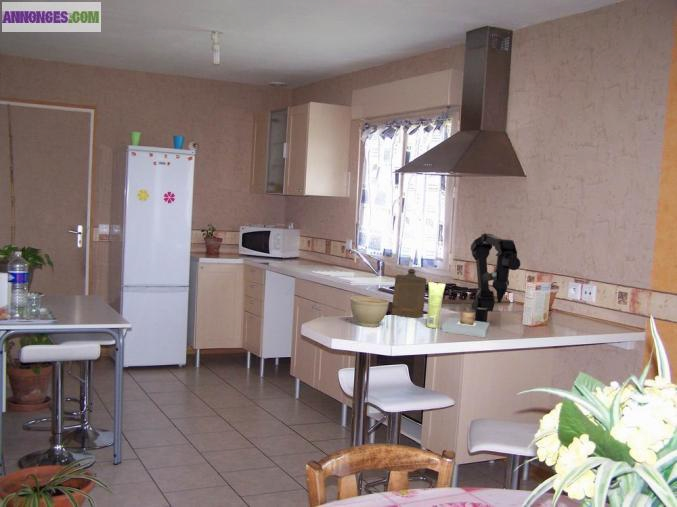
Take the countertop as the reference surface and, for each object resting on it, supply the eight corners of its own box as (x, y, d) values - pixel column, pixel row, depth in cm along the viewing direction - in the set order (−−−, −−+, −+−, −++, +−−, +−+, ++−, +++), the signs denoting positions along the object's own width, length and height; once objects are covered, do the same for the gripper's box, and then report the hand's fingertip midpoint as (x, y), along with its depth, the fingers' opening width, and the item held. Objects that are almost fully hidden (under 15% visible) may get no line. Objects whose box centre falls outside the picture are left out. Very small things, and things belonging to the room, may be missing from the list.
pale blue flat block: (448, 323, 320) (449, 317, 320) (489, 329, 316) (489, 322, 315) (441, 331, 299) (442, 324, 299) (484, 337, 294) (485, 330, 294)
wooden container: (415, 312, 345) (420, 268, 343) (427, 318, 331) (432, 271, 329) (387, 311, 341) (391, 266, 339) (397, 317, 327) (402, 269, 325)
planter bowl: (343, 320, 304) (346, 295, 303) (379, 322, 308) (382, 297, 307) (354, 328, 288) (356, 301, 287) (391, 329, 292) (394, 303, 291)
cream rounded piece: (460, 328, 311) (462, 310, 310) (473, 330, 309) (475, 312, 309) (458, 330, 305) (460, 312, 305) (472, 332, 304) (474, 314, 303)
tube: (431, 325, 311) (436, 281, 310) (441, 327, 308) (445, 283, 306) (423, 326, 307) (428, 282, 306) (433, 328, 304) (438, 283, 302)
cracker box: (536, 323, 348) (541, 280, 346) (547, 325, 344) (552, 282, 342) (520, 324, 338) (525, 281, 337) (531, 327, 334) (536, 283, 332)
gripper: (486, 264, 324) (482, 298, 325) (482, 266, 306) (478, 302, 307) (510, 267, 321) (507, 301, 322) (508, 269, 303) (504, 306, 304)
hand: (498, 302), depth 314 cm, fingers closed
